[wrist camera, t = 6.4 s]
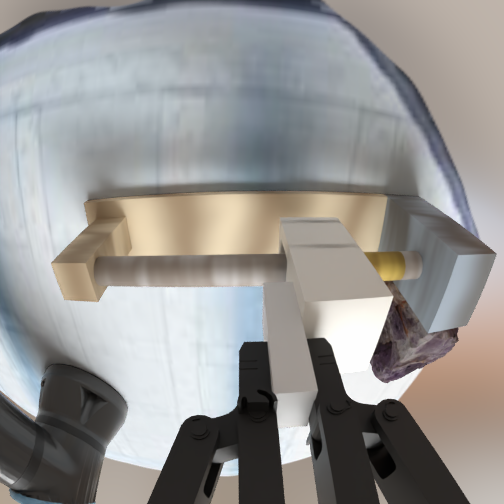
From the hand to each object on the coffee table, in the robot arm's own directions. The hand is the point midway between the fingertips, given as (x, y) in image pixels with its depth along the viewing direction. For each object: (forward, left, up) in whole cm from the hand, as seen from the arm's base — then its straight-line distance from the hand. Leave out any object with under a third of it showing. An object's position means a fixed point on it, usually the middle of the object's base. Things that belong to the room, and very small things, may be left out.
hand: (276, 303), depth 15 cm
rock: (+15, -10, -11) cm, 21 cm away
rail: (-1, 0, -11) cm, 11 cm away
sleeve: (+3, 0, -6) cm, 7 cm away
